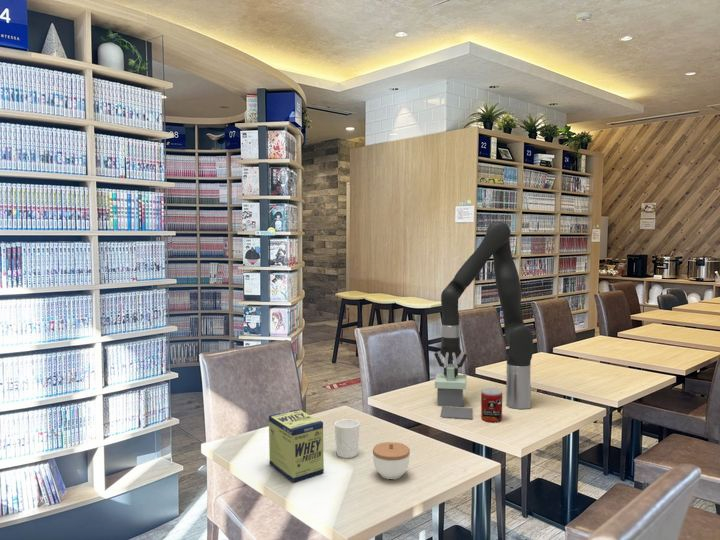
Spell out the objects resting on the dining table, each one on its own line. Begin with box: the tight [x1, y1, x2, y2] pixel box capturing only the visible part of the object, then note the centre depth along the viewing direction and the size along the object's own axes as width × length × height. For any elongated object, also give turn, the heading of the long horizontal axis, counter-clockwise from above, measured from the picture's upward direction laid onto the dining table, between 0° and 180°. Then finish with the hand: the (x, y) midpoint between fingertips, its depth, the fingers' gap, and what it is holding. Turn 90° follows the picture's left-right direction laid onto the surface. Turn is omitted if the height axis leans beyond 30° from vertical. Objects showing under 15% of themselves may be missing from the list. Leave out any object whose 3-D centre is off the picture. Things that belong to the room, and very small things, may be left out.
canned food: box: [480, 387, 503, 423], centre depth 200 cm, size 8×8×11 cm
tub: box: [436, 388, 464, 408], centre depth 220 cm, size 10×10×7 cm
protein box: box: [268, 408, 325, 484], centre depth 159 cm, size 10×16×16 cm
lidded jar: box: [372, 441, 411, 480], centre depth 155 cm, size 11×11×9 cm
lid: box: [434, 363, 467, 390], centre depth 220 cm, size 12×12×8 cm
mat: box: [439, 406, 474, 421], centre depth 207 cm, size 12×12×1 cm
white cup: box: [334, 418, 360, 459], centre depth 170 cm, size 8×8×10 cm
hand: (450, 376), depth 220 cm, fingers closed on lid, 3 cm apart
